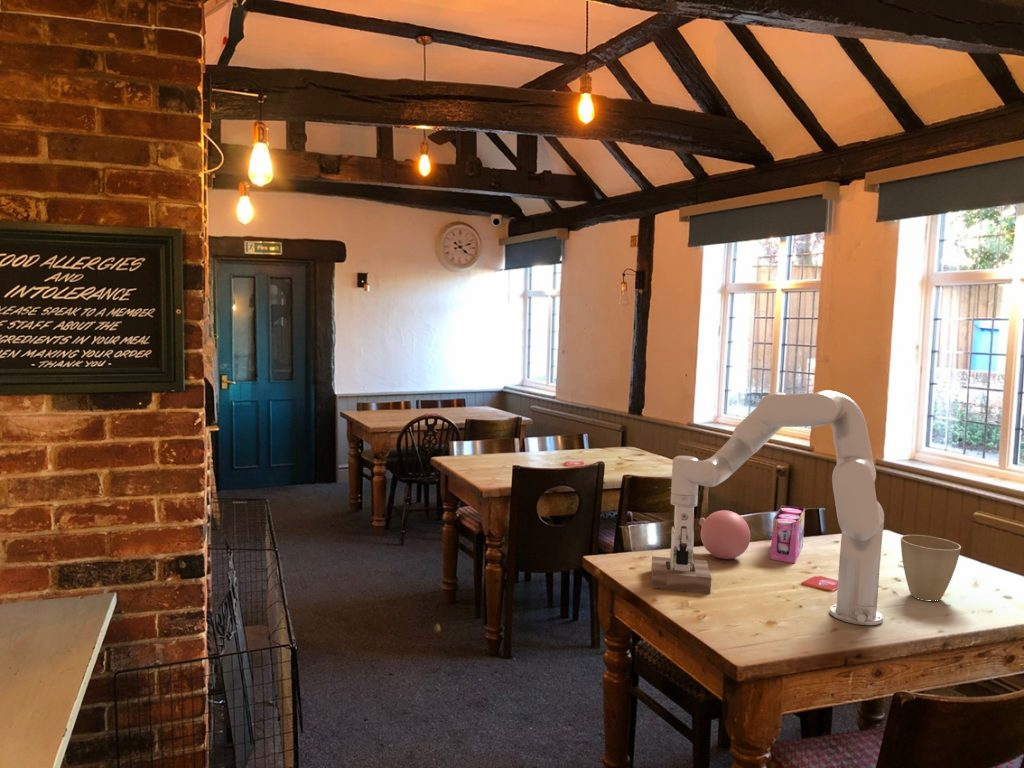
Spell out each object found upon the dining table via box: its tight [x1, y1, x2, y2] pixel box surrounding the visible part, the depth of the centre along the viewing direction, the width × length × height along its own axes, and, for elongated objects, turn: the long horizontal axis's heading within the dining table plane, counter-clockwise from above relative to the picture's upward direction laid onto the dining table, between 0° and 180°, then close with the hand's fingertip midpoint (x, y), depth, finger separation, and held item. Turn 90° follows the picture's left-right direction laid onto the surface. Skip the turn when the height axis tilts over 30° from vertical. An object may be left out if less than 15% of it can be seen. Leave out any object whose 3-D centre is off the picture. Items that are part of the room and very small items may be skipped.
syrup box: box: [669, 525, 695, 572], centre depth 221 cm, size 6×6×14 cm
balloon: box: [698, 509, 751, 560], centre depth 249 cm, size 15×20×15 cm
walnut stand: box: [650, 555, 712, 594], centre depth 222 cm, size 16×16×4 cm
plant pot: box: [900, 534, 962, 601], centre depth 215 cm, size 15×15×16 cm
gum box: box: [769, 505, 806, 564], centre depth 254 cm, size 24×8×14 cm, turn 153°
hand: (681, 560), depth 221 cm, fingers closed on syrup box, 5 cm apart
